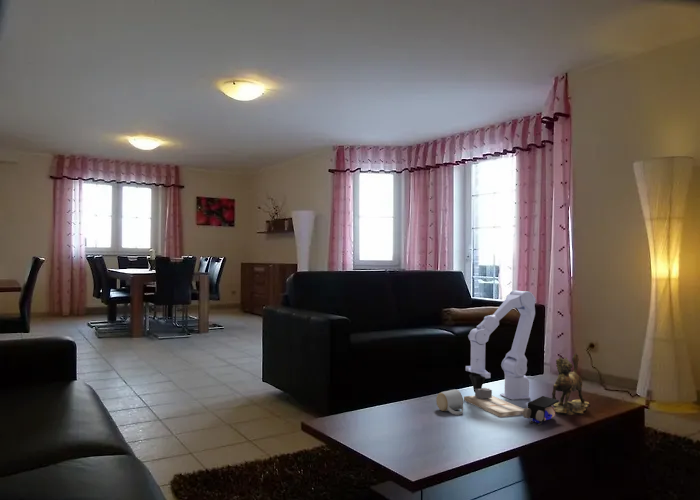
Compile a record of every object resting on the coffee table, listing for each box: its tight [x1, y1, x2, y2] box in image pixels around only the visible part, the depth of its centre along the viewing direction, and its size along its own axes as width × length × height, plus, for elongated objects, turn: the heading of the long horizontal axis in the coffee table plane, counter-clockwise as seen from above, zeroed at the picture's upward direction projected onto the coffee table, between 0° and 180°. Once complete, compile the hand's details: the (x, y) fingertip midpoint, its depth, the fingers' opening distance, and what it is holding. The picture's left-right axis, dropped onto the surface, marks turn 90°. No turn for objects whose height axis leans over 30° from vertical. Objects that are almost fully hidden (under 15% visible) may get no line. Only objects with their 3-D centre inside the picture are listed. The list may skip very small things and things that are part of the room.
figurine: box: [551, 352, 590, 416], centre depth 199 cm, size 13×25×20 cm, turn 136°
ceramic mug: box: [436, 388, 464, 416], centre depth 190 cm, size 10×8×7 cm
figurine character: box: [522, 395, 560, 427], centre depth 180 cm, size 7×8×15 cm
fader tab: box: [474, 387, 493, 399], centre depth 204 cm, size 5×4×3 cm
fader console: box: [463, 395, 525, 418], centre depth 197 cm, size 12×23×2 cm, turn 21°
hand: (477, 392), depth 208 cm, fingers closed
